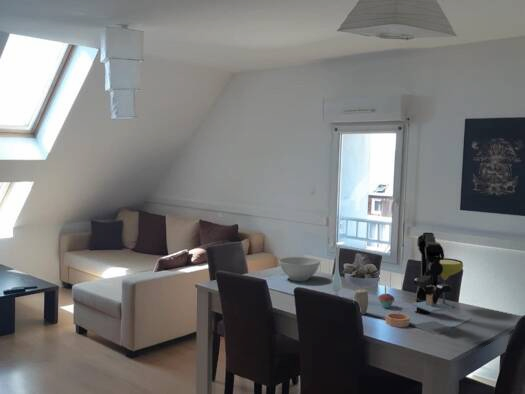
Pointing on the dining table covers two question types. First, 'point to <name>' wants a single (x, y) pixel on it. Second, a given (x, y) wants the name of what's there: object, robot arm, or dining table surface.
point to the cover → (431, 304)
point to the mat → (434, 327)
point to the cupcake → (386, 299)
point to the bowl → (397, 320)
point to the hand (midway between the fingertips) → (431, 302)
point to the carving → (362, 299)
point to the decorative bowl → (299, 267)
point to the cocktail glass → (450, 271)
